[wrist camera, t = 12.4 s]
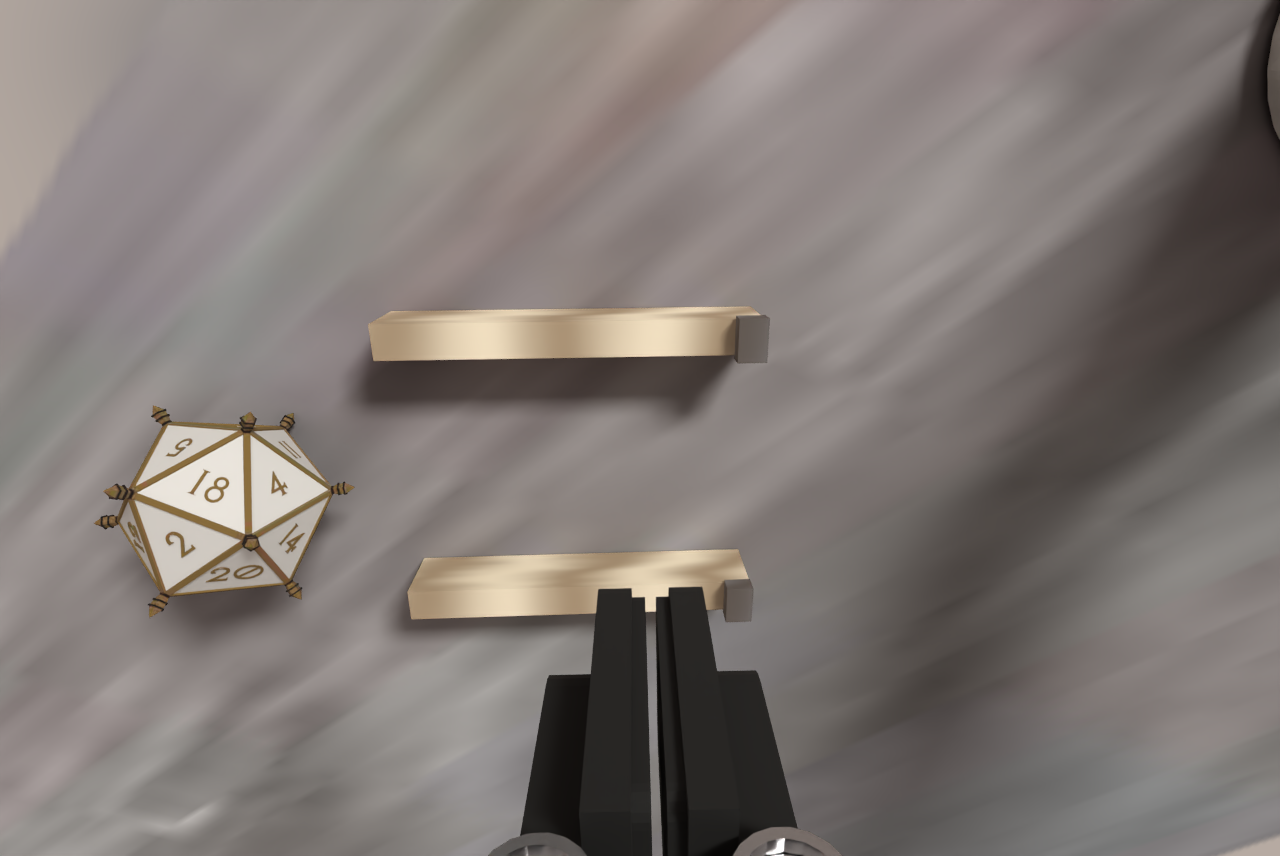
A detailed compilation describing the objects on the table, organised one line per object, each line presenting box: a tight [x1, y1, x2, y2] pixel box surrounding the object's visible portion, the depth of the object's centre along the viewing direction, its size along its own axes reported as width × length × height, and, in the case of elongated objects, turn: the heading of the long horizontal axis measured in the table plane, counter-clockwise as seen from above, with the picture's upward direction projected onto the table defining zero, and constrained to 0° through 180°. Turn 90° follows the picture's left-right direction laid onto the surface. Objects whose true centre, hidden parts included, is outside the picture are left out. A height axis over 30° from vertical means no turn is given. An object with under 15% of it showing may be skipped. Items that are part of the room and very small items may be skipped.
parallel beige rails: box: [368, 307, 770, 622], centre depth 30 cm, size 16×14×4 cm
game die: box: [94, 406, 354, 618], centre depth 28 cm, size 9×8×10 cm
